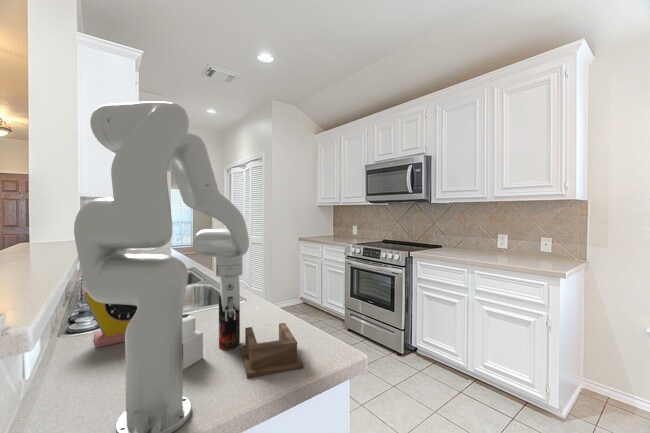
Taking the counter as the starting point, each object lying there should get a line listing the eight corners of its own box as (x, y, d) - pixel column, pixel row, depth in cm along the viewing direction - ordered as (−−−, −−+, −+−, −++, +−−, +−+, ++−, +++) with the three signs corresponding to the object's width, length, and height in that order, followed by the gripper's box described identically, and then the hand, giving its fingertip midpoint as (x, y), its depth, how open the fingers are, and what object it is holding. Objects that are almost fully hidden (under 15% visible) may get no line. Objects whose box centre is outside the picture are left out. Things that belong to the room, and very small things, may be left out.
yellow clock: (84, 351, 87) (83, 275, 87) (83, 340, 94) (82, 270, 94) (169, 331, 102) (168, 266, 101) (162, 323, 109) (162, 262, 108)
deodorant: (214, 346, 91) (214, 295, 90) (231, 339, 96) (231, 291, 95) (227, 351, 87) (227, 299, 87) (244, 344, 92) (243, 294, 92)
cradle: (303, 368, 78) (303, 343, 78) (246, 378, 74) (246, 352, 74) (288, 342, 94) (288, 322, 93) (241, 349, 89) (241, 328, 89)
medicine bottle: (161, 365, 80) (161, 319, 79) (183, 353, 86) (183, 310, 86) (182, 370, 77) (182, 323, 77) (203, 358, 84) (203, 314, 83)
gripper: (245, 274, 84) (245, 338, 85) (239, 264, 100) (240, 317, 101) (216, 276, 82) (216, 342, 82) (215, 265, 98) (215, 320, 98)
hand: (229, 328), depth 91 cm, fingers open, 8 cm apart
